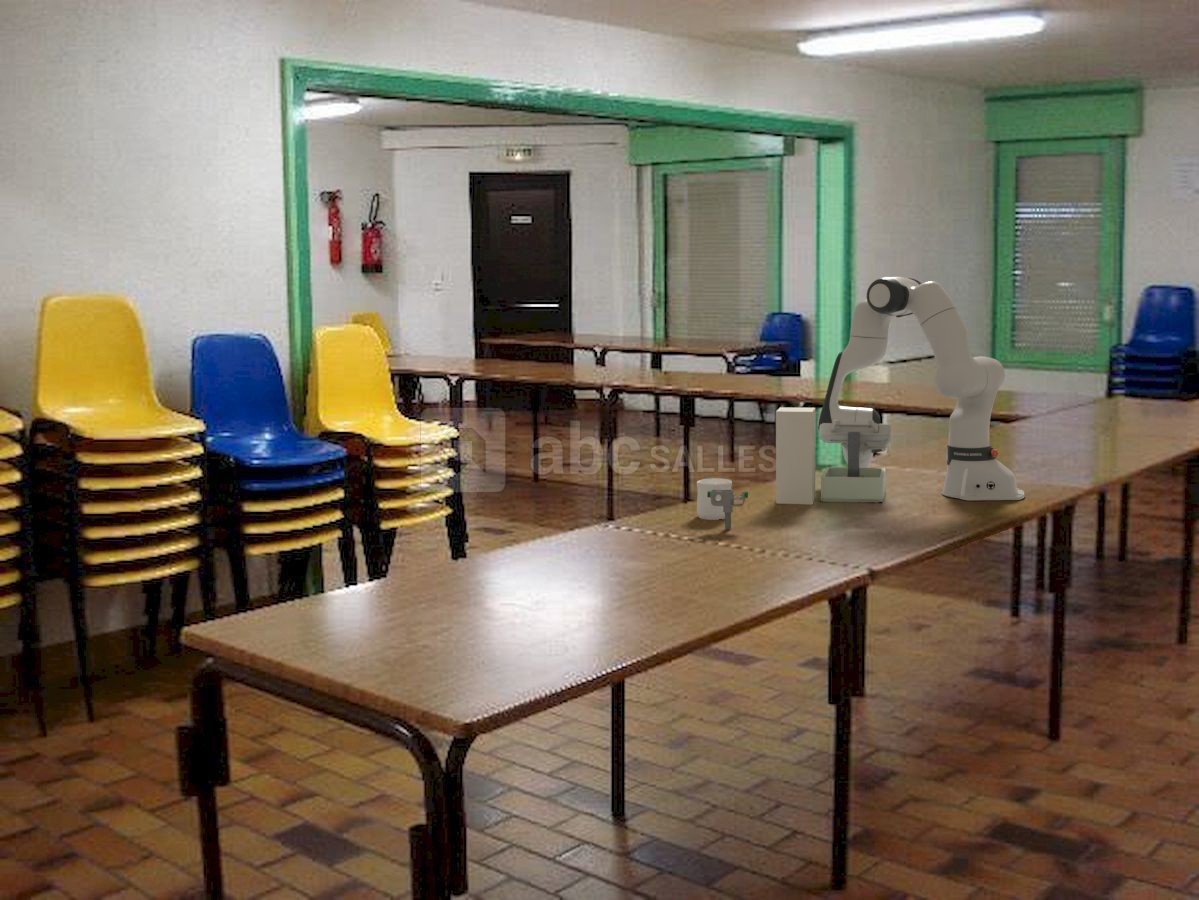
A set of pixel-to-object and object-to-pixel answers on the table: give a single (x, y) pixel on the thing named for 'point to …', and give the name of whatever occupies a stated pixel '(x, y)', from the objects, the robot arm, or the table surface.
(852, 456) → the grey long block
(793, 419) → the cream block
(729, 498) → the mechanical component
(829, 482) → the green bin
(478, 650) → the table surface
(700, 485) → the cup
